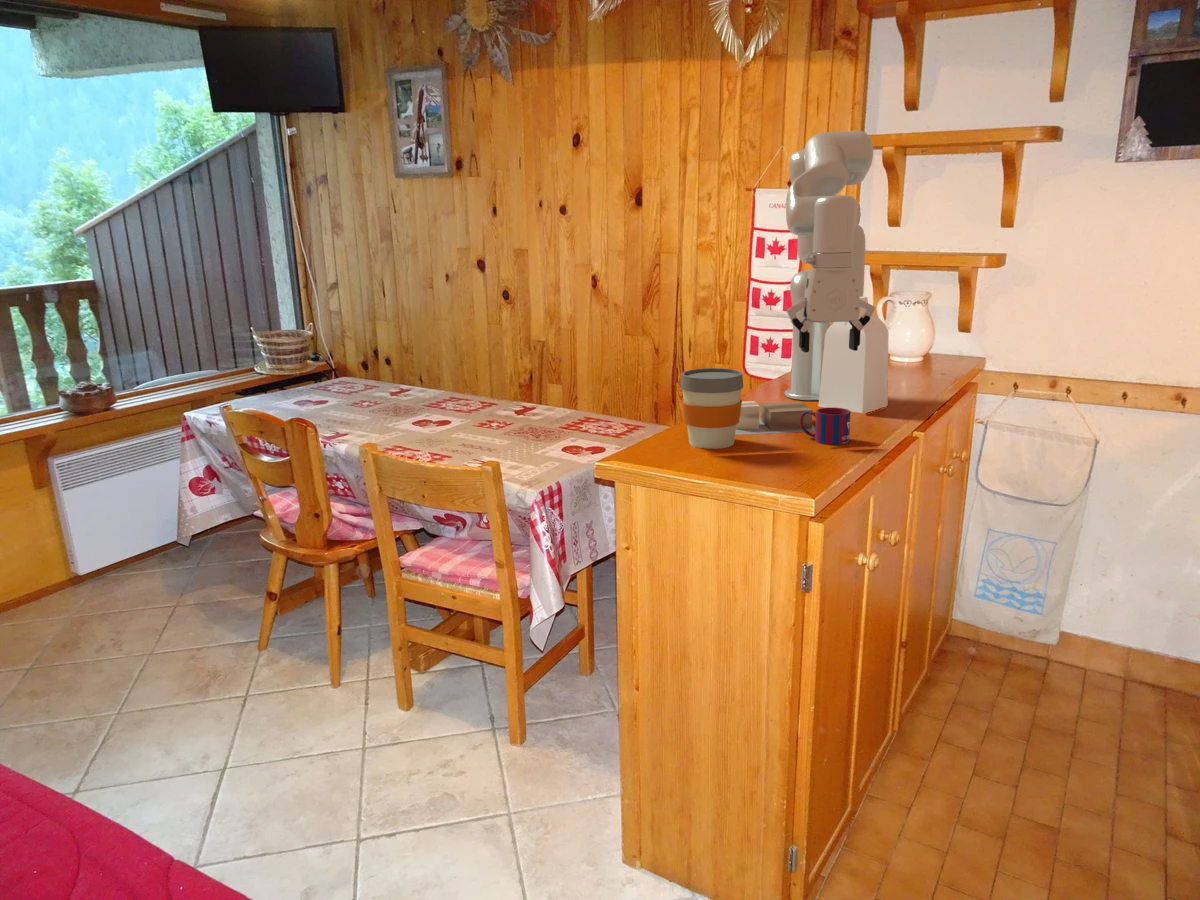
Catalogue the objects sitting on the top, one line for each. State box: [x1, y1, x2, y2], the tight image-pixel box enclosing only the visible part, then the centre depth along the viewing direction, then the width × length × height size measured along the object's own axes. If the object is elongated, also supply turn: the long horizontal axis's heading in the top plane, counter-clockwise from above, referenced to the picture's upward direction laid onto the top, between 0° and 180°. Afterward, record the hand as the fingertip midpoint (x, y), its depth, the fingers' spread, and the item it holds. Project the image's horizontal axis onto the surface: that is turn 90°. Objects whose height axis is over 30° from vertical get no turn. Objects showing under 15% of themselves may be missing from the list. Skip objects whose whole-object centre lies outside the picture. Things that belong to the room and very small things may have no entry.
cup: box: [800, 407, 852, 449], centre depth 172 cm, size 7×10×7 cm
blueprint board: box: [735, 417, 815, 436], centre depth 186 cm, size 14×18×1 cm
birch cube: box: [736, 400, 760, 429], centre depth 185 cm, size 5×5×5 cm
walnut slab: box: [760, 401, 814, 430], centre depth 185 cm, size 9×9×4 cm
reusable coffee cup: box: [680, 367, 744, 450], centre depth 171 cm, size 13×13×15 cm
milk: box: [818, 296, 889, 414], centre depth 199 cm, size 12×12×26 cm
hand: (829, 350), depth 168 cm, fingers open, 9 cm apart
